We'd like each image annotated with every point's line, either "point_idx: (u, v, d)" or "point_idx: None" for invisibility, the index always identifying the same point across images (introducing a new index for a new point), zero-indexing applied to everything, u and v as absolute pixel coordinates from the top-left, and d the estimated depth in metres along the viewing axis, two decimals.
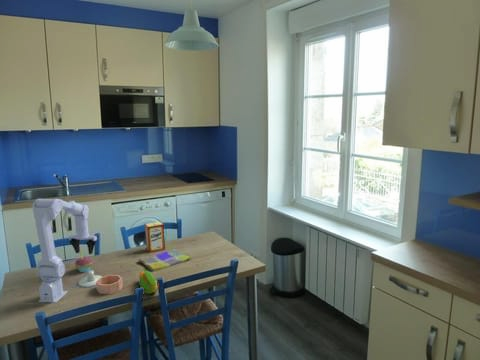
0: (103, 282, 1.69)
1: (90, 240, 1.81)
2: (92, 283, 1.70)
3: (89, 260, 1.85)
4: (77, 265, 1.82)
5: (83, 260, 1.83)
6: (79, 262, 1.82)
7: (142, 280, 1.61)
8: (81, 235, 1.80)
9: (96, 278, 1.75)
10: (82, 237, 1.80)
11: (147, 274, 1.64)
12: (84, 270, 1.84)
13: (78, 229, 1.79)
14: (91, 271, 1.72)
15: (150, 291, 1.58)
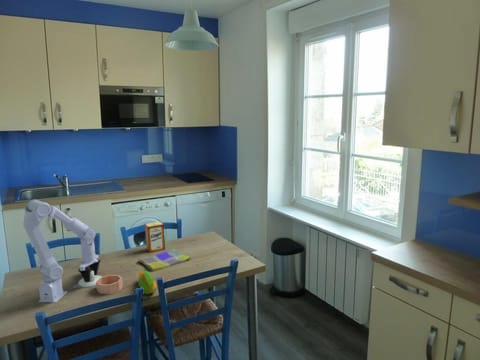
0: (103, 282, 1.69)
1: None
2: (92, 283, 1.70)
3: None
4: None
5: None
6: None
7: (140, 280, 1.61)
8: None
9: (96, 278, 1.75)
10: (82, 261, 1.70)
11: (146, 274, 1.64)
12: None
13: None
14: (91, 271, 1.72)
15: (148, 291, 1.58)
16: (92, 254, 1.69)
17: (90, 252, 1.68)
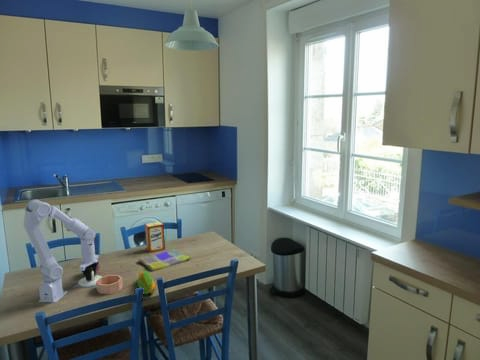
0: (103, 282, 1.69)
1: None
2: (92, 283, 1.70)
3: (96, 272, 1.82)
4: None
5: None
6: None
7: (139, 280, 1.61)
8: (82, 259, 1.70)
9: (96, 278, 1.75)
10: (82, 261, 1.70)
11: (145, 274, 1.64)
12: None
13: None
14: None
15: (146, 291, 1.58)
16: (92, 254, 1.69)
17: (90, 252, 1.68)
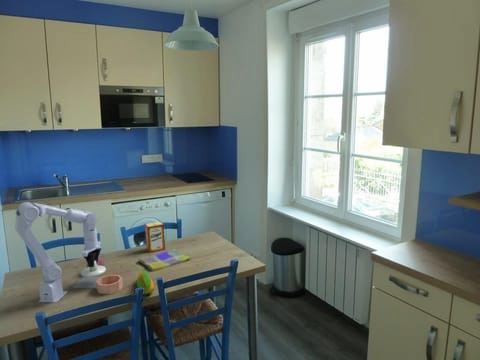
0: (103, 282, 1.69)
1: None
2: (95, 273, 1.68)
3: None
4: (87, 263, 1.81)
5: None
6: None
7: (138, 280, 1.61)
8: None
9: (99, 268, 1.72)
10: None
11: (144, 274, 1.64)
12: None
13: None
14: None
15: (145, 292, 1.58)
16: (94, 240, 1.66)
17: (91, 238, 1.65)
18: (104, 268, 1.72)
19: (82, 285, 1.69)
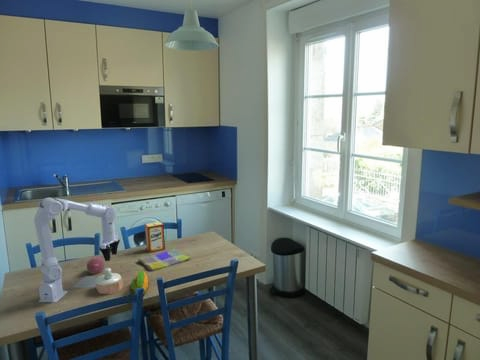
0: None
1: None
2: (109, 281, 1.62)
3: (95, 272, 1.81)
4: (87, 263, 1.81)
5: (93, 268, 1.80)
6: (90, 265, 1.80)
7: (133, 280, 1.62)
8: (103, 238, 1.74)
9: (113, 276, 1.67)
10: (103, 240, 1.73)
11: (139, 275, 1.64)
12: None
13: None
14: (108, 269, 1.65)
15: None
16: (112, 233, 1.73)
17: (110, 231, 1.72)
18: (119, 276, 1.67)
19: (82, 285, 1.69)
